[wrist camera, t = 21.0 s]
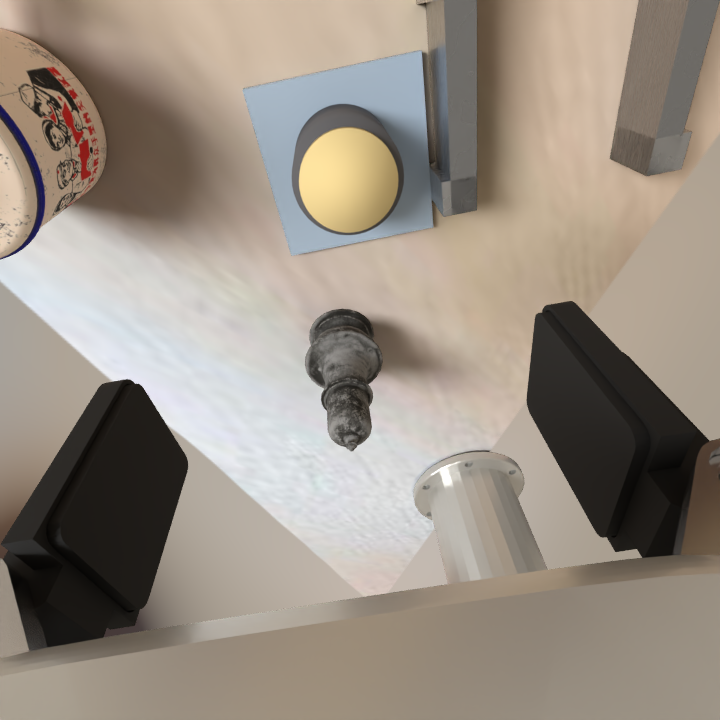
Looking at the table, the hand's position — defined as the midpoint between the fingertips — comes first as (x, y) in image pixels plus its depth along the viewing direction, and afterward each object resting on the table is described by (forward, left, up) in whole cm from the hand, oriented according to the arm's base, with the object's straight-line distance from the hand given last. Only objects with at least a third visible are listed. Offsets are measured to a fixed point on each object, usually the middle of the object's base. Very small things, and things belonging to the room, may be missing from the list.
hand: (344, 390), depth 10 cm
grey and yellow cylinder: (0, -1, -21) cm, 21 cm away
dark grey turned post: (-13, +2, -21) cm, 25 cm away
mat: (0, -1, -21) cm, 21 cm away
